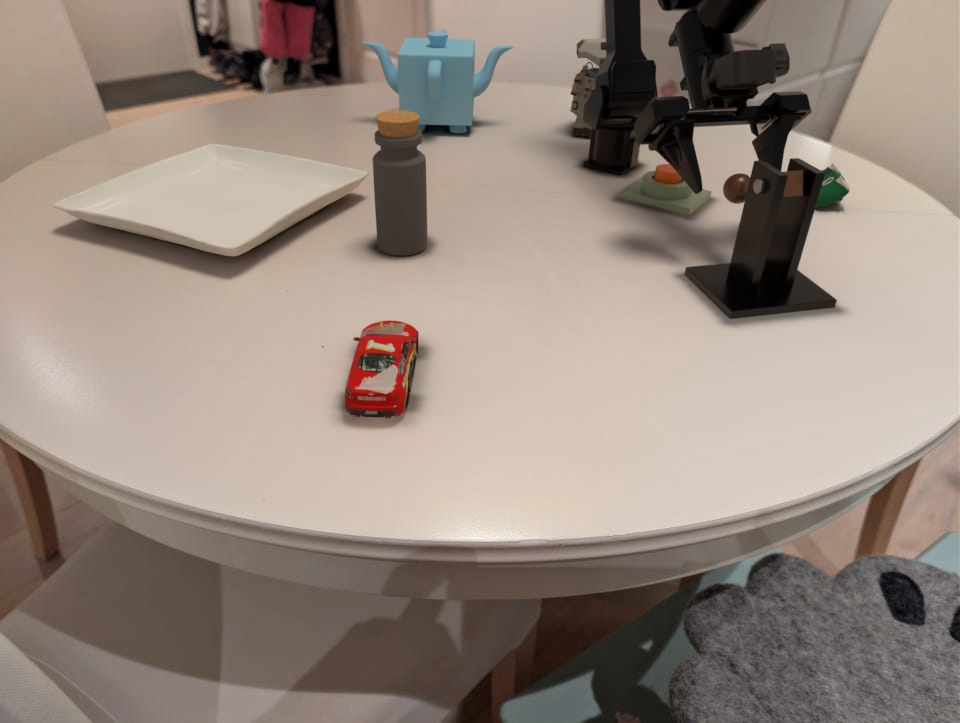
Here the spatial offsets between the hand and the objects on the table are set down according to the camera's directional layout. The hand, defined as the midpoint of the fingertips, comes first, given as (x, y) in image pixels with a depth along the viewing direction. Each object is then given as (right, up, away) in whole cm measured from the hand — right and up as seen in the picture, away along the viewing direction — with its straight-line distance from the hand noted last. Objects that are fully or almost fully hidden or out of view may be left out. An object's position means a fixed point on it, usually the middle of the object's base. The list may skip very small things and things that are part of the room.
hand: (737, 189), depth 80 cm
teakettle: (-35, +23, +49) cm, 64 cm away
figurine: (-7, +20, +46) cm, 51 cm away
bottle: (-37, -5, +7) cm, 38 cm away
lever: (+1, -2, -4) cm, 4 cm away
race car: (-36, -20, -16) cm, 44 cm away
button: (-3, +6, +19) cm, 20 cm away
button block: (-3, +3, +21) cm, 21 cm away
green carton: (+19, +4, +22) cm, 29 cm away
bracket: (+2, -11, -1) cm, 11 cm away
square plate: (-60, 0, +13) cm, 62 cm away
